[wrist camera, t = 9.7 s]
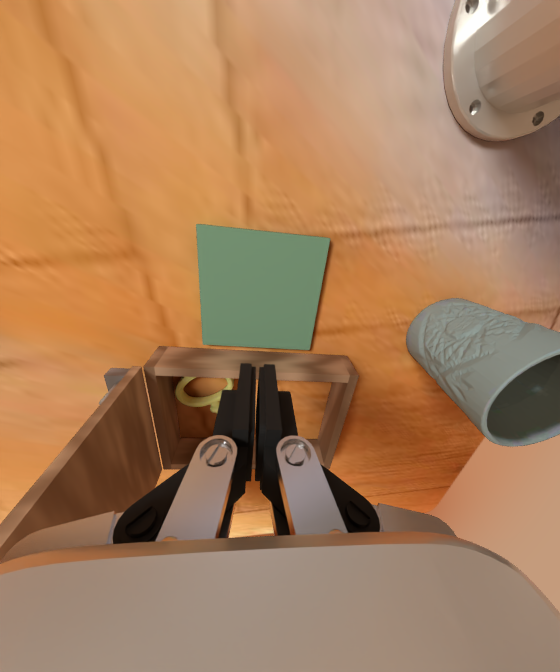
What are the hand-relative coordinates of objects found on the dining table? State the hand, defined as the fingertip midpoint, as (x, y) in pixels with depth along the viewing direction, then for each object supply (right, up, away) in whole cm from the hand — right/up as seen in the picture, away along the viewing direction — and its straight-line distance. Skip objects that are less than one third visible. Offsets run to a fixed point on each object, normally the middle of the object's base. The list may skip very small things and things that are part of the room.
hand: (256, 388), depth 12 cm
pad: (-1, +7, +13) cm, 15 cm away
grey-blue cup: (+21, +3, +17) cm, 27 cm away
